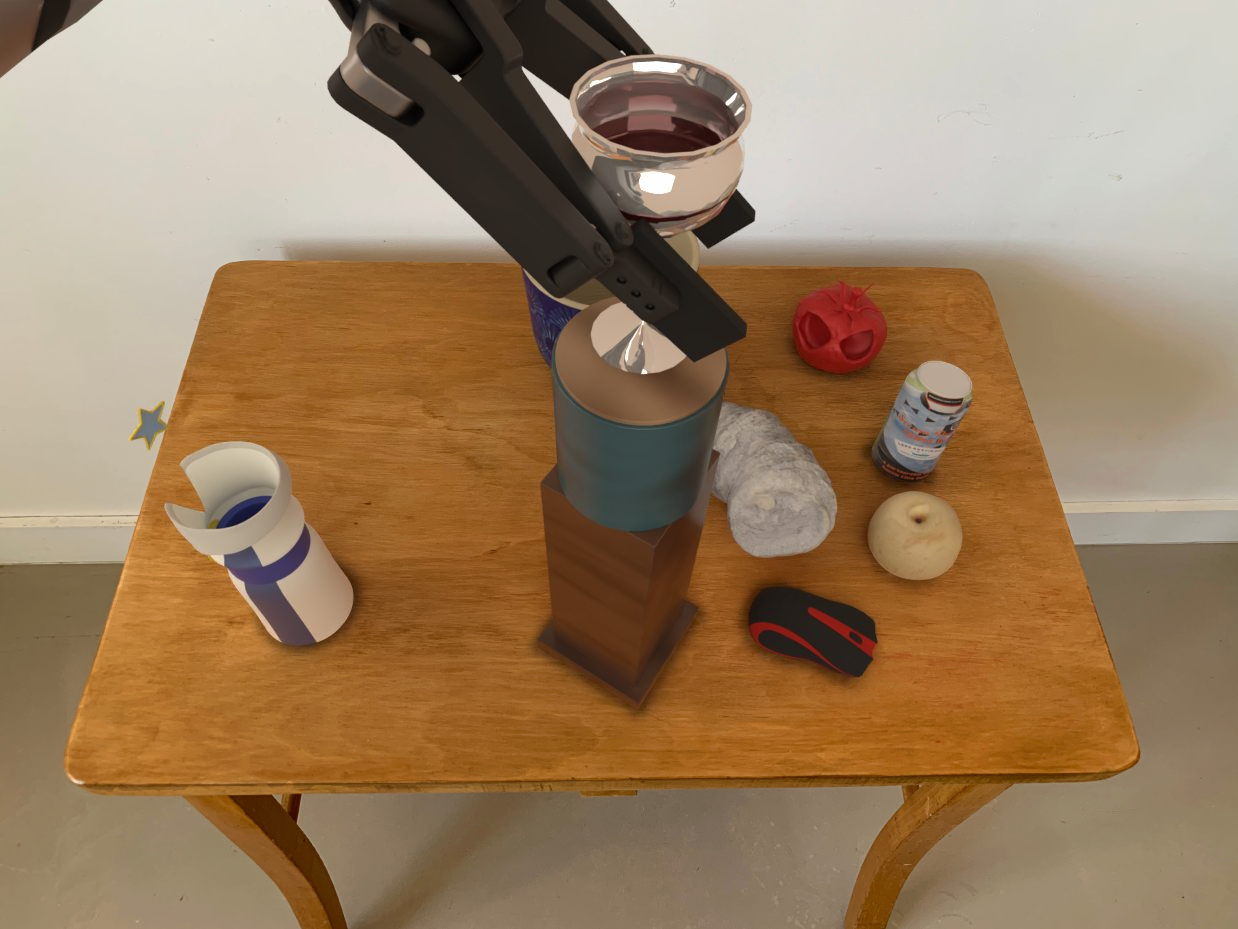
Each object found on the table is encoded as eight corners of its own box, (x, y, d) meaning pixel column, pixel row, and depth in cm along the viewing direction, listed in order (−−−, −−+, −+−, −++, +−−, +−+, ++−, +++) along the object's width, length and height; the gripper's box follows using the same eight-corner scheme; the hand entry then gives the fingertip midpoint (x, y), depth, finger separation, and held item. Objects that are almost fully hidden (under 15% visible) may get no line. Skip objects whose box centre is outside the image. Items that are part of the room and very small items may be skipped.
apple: (967, 585, 71) (963, 571, 65) (875, 585, 75) (862, 572, 68) (961, 501, 74) (957, 479, 67) (872, 505, 77) (860, 485, 70)
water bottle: (245, 653, 66) (90, 492, 46) (269, 562, 71) (139, 379, 50) (344, 653, 66) (235, 493, 46) (362, 562, 71) (270, 380, 51)
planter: (497, 352, 86) (482, 240, 74) (612, 282, 93) (616, 169, 81) (600, 447, 79) (602, 341, 67) (716, 364, 86) (738, 254, 74)
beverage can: (864, 480, 78) (904, 404, 68) (873, 425, 82) (911, 345, 72) (928, 497, 77) (978, 422, 67) (934, 440, 81) (981, 361, 71)
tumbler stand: (637, 710, 64) (677, 468, 36) (537, 646, 67) (500, 374, 39) (697, 615, 69) (774, 334, 41) (601, 559, 72) (611, 260, 43)
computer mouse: (862, 690, 66) (876, 673, 63) (738, 639, 68) (746, 620, 65) (878, 625, 69) (893, 606, 66) (760, 579, 72) (768, 558, 68)
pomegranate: (802, 307, 92) (821, 243, 84) (885, 336, 90) (913, 273, 82) (773, 364, 87) (791, 301, 79) (861, 396, 84) (888, 335, 77)
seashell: (652, 432, 81) (659, 366, 73) (792, 426, 82) (815, 361, 74) (669, 573, 72) (680, 516, 63) (827, 565, 73) (858, 508, 64)
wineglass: (716, 389, 37) (764, 160, 27) (570, 387, 36) (564, 155, 27) (706, 288, 41) (744, 55, 31) (574, 285, 40) (570, 50, 30)
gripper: (307, -218, 31) (682, 191, 43) (11, 36, 19) (634, 490, 32) (417, -410, 26) (802, 111, 38) (110, -222, 15) (794, 428, 27)
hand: (725, 282), depth 35 cm, fingers closed on wineglass, 7 cm apart
